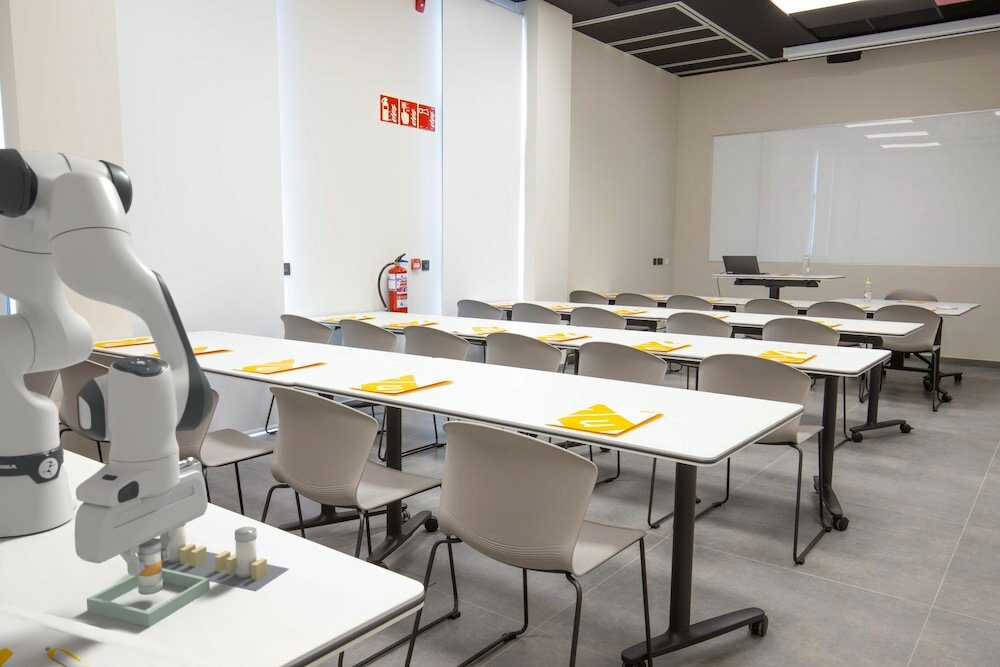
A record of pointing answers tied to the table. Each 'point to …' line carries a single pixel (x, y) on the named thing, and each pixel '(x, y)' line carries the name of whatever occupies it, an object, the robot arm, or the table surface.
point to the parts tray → (149, 618)
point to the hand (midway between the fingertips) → (149, 566)
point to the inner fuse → (177, 544)
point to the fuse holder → (223, 568)
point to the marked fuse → (150, 567)
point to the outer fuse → (245, 550)
